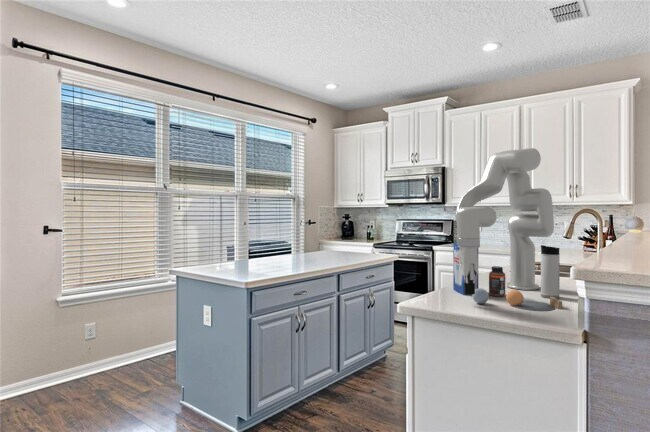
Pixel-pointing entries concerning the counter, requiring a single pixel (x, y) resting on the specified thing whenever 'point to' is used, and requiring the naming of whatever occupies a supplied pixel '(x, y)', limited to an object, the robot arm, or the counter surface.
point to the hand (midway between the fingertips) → (469, 293)
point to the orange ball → (514, 297)
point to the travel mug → (550, 271)
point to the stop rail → (556, 302)
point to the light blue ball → (480, 296)
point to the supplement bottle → (497, 282)
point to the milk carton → (457, 276)
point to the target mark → (535, 306)
